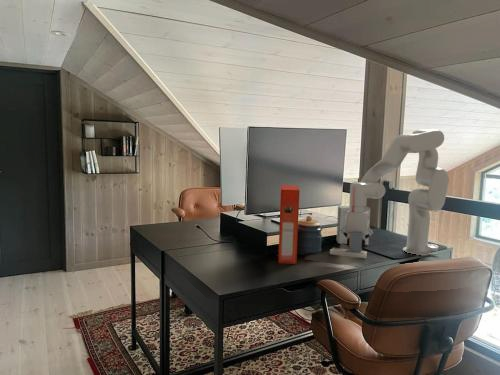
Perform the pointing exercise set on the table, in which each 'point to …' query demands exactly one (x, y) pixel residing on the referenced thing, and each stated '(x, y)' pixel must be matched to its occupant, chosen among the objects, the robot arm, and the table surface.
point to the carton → (355, 242)
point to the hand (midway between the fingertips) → (355, 246)
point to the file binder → (288, 224)
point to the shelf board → (348, 253)
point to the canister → (309, 236)
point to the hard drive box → (342, 221)
